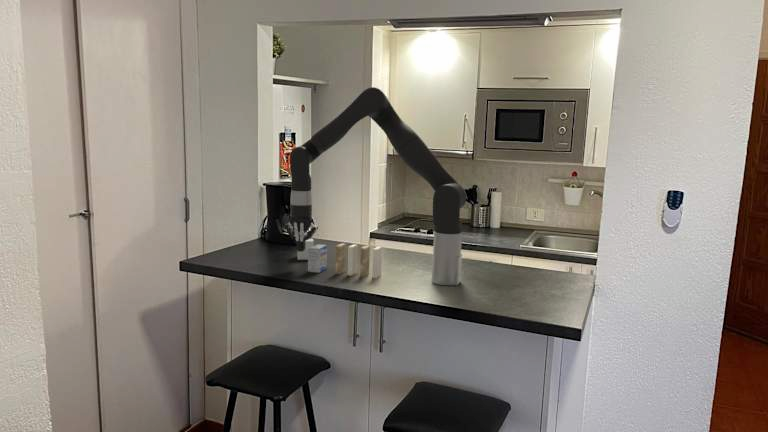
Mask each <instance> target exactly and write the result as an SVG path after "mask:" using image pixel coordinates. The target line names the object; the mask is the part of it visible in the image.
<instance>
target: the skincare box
mask: <svg viewBox="0 0 768 432" xmlns="http://www.w3.org/2000/svg"><path fill="white" fill-rule="evenodd" d="M314 245H315V244H314V239H313V238H310V239H308V240H306V241H305V250H304V251H303V252H298V251H297V260H300V261H301V260H308V248H310V247H312V246H314Z"/></svg>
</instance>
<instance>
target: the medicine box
mask: <svg viewBox="0 0 768 432" xmlns="http://www.w3.org/2000/svg"><path fill="white" fill-rule="evenodd" d="M327 268H328V245H327V244H319V243H318V244H313V246H312V247H310V248H308V261H307V272H308V273H319V274H320V273H322V272H323V271H324V270H326V269H327Z"/></svg>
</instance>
